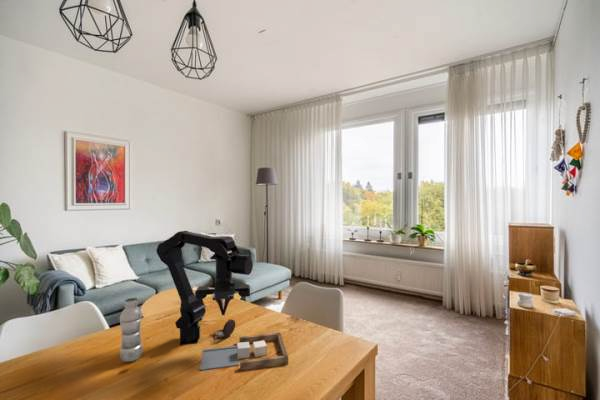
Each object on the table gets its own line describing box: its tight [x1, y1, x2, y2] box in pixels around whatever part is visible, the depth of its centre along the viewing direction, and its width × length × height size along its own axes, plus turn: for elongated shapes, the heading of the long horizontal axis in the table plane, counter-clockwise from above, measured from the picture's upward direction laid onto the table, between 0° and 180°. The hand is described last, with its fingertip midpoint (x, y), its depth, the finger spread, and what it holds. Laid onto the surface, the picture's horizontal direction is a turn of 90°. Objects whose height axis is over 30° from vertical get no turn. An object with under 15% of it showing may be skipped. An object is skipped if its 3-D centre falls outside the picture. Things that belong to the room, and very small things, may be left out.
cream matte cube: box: [236, 342, 251, 360], centre depth 98 cm, size 4×4×4 cm
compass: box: [211, 318, 236, 341], centre depth 111 cm, size 8×8×7 cm
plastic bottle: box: [119, 297, 144, 363], centre depth 95 cm, size 6×7×20 cm
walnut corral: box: [238, 332, 289, 371], centre depth 99 cm, size 15×17×2 cm
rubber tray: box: [199, 345, 240, 371], centre depth 96 cm, size 12×12×1 cm
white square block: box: [252, 340, 268, 358], centre depth 99 cm, size 4×4×4 cm
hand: (223, 314), depth 103 cm, fingers closed
